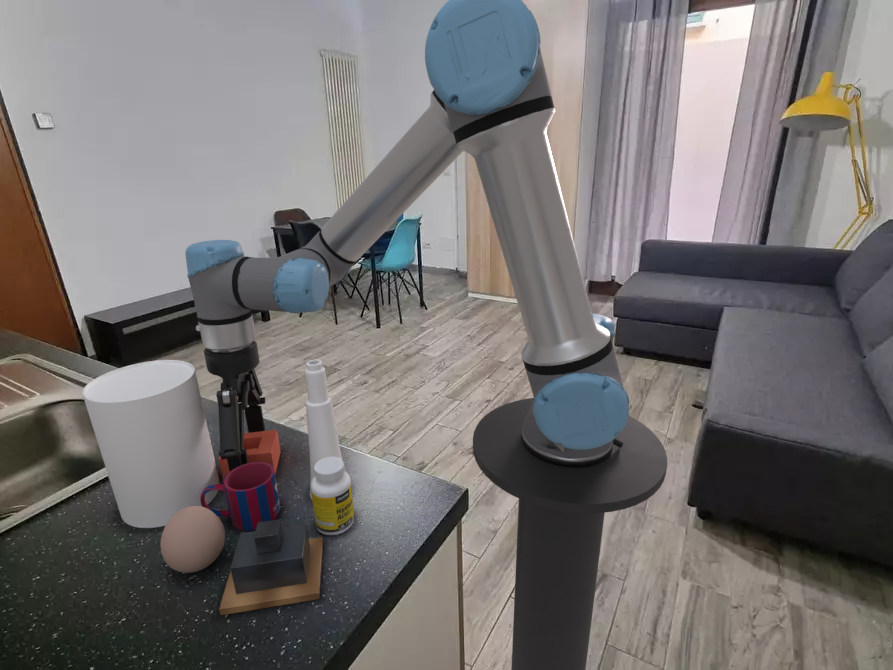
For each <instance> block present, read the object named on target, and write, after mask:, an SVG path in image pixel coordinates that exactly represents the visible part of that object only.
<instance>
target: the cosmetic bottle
mask: <svg viewBox="0 0 893 670" xmlns="http://www.w3.org/2000/svg"><path fill="white" fill-rule="evenodd" d="M305 367H306V368H305V369H304V378H305V385H306V392H307V399H306V400H305V413H306V425H307V426H306V427H307V437H308V438H307V439H308V449H309V462H310V463H309V465H310V486H309V497H310V499H311V500H312V494H311V482H312V480H313V478H314V477H315V474H314V465H315V464H316V463H317V462H318V461H319V460H321V459H323V458H326V457H338V458H341V459H342V460H343V456H342V452H341V445H340V440H339V436H338V435H339V434H338V428H337V421H336V418H335V417H336V416H335V411H334V405H333V400H332V397H331V396H330V395H329V392H328V391H329V390H328V383H327V374H326V368H325V367H324V366H323V360H321V359H318V358H315V359H309V360H307V361H306V362H305Z"/></svg>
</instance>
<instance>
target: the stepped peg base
mask: <svg viewBox="0 0 893 670" xmlns="http://www.w3.org/2000/svg"><path fill="white" fill-rule="evenodd" d="M281 522H282V521H281V519H280V518H278V519H275V520H271V521H264V522H258V524H257V528H256V530H253V531H244V532H240V533H239V537H238V540H237V544H236V548H235V550H234V554H233V558H232V561H231V565H230V570H229V573H228V576H227V580H226V584H225V586H224V587H225V588H224V591H223V594H222V598H221V600H220V605H219V608H218V611H219V614H220V616H226V615H231V614H238V613H245V612H251V611H256V610H261V609H262V610H263V609H267V608H268V609H269V608H274V607H280V606H286V605H292V604H297V603H304V602H309V601H315V600H316V601H317V600H320V598H321V597H320V596H321V582H322V570H323V569H322V568H323V556H324V555H323V553H324V537H323V536H319V537H313V538H312V537H311V538H309V531H308V525H307V524H308V523H301V524H295V525H289V526H282V523H281Z"/></svg>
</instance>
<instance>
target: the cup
mask: <svg viewBox="0 0 893 670" xmlns="http://www.w3.org/2000/svg"><path fill="white" fill-rule="evenodd" d="M211 490H219V491H220V492H222V493H224V494H225V498H226V502H227V507H228V509H226V510H219V509H214V508H211V507H210V506H209V504H208V505H207V504H206V502H205V499H204V497H205V494H206V493H207V492H209V491H211ZM279 497H280V495H279V490H278V483H277V479H276V474H275V472H274V468H273V466H272V465H270V464H268V463H265V462H251V463H247V464H243V465H241V466H238V467H237V468H235V469H233V470H232V471H230V472H229V473H228V474H227V475H226V477H225V478H224V482H223V483H220V484H215V485H210V486H207V487H206V488H205V489H204V490H203V491H202V493H201V497H200V500H201V506H202V507H205V508H207V509H209V510H211V511H212V512H213V513H215V514H216V515H217V516H218V517H219V518H230V520H231V523H232V526H233V527H234V528H236V529H237V530H239V531H243V532H252V531H256V528H257V524H258V522H264V521H271V520H277V519H278V517H279V515H280V513H281V509H282V508H281V507H282V506H281V501H280V498H279Z"/></svg>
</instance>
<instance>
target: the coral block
mask: <svg viewBox="0 0 893 670" xmlns="http://www.w3.org/2000/svg"><path fill="white" fill-rule="evenodd" d="M244 449H246V451H247V457H248V462H249V463H251V462H265V463H268V464H270V465H272V466H273V468H274V472H275V475H276V474H277V471H278V470H277V469H278V466H279V460H280V456H281V445H280V438H279V432H278V429H271V430H265V431H260V432H251V433H248V432H244ZM218 463H219V467H220V468H219V469H220V472H221V477H222V481H223V483H224V478H225V477H226V475H227V474H228V473H229V472H230V471H229V466H228V461H227V459H221V457H220V456H219V455H218Z"/></svg>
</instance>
